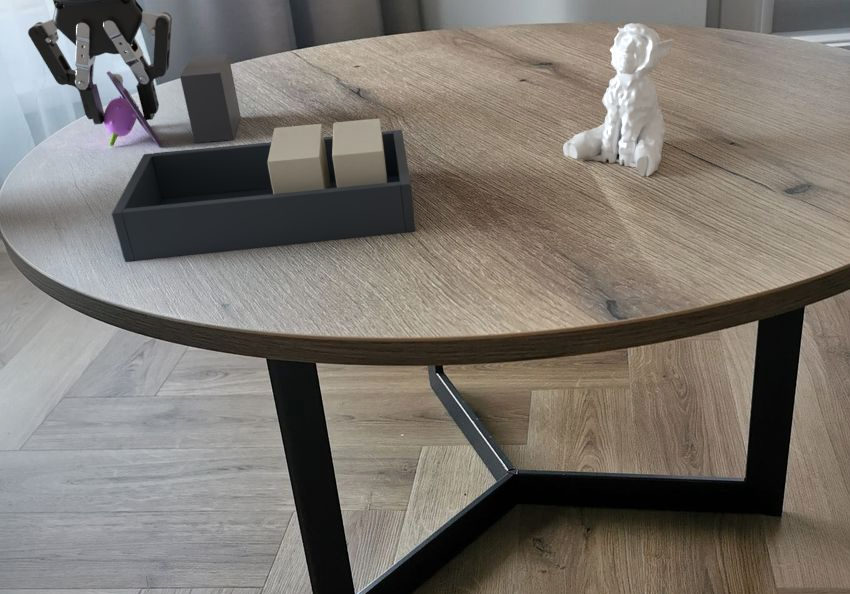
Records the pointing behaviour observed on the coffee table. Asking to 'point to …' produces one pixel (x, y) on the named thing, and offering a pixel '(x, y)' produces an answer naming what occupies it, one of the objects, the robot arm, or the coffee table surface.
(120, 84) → the purple bumpy fruit toy
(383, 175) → the cream box
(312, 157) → the cream box
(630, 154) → the seated beast figurine
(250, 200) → the tray
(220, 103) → the grey box
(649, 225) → the coffee table surface
